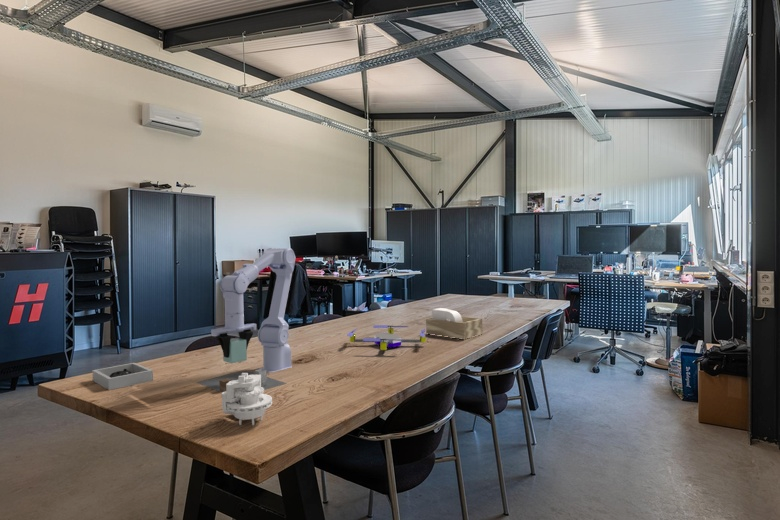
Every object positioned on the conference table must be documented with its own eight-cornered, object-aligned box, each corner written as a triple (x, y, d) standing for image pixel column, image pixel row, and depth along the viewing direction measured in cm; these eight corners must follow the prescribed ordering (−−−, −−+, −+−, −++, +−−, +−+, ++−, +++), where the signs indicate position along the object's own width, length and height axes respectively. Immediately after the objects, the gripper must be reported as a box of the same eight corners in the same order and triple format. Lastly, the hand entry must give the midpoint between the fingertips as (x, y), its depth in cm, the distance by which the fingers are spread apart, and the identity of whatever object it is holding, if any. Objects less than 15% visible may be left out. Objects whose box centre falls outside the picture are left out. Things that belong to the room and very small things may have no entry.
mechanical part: (253, 432, 106) (252, 382, 105) (213, 425, 110) (212, 378, 110) (281, 415, 116) (281, 370, 116) (244, 410, 120) (243, 366, 120)
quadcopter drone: (357, 334, 217) (357, 324, 216) (426, 335, 213) (426, 325, 213) (342, 350, 183) (342, 338, 183) (424, 352, 180) (424, 339, 179)
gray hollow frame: (135, 372, 159) (134, 362, 159) (153, 380, 149) (152, 370, 149) (92, 380, 149) (92, 370, 149) (109, 390, 139) (108, 379, 139)
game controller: (108, 376, 152) (122, 362, 154) (121, 386, 154) (135, 372, 155) (103, 384, 143) (118, 369, 145) (117, 394, 145) (131, 379, 146)
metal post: (262, 384, 141) (261, 368, 141) (266, 385, 140) (266, 370, 140) (254, 386, 140) (254, 370, 139) (259, 387, 138) (259, 371, 138)
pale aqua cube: (238, 357, 146) (237, 337, 146) (246, 360, 143) (246, 339, 143) (223, 360, 143) (222, 340, 142) (231, 363, 139) (231, 342, 139)
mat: (246, 372, 158) (246, 370, 158) (287, 385, 142) (287, 383, 142) (196, 384, 145) (196, 382, 145) (235, 399, 129) (235, 397, 129)
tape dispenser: (432, 334, 226) (432, 309, 225) (446, 331, 232) (446, 307, 232) (455, 338, 213) (455, 312, 213) (470, 336, 220) (470, 310, 219)
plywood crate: (445, 329, 236) (445, 314, 236) (482, 334, 222) (482, 318, 221) (426, 334, 223) (426, 318, 223) (464, 340, 209) (464, 323, 209)
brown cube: (227, 388, 138) (227, 378, 138) (231, 389, 136) (231, 380, 136) (219, 390, 136) (219, 380, 136) (223, 391, 134) (223, 382, 134)
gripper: (218, 316, 134) (219, 361, 135) (261, 311, 145) (262, 353, 145) (207, 314, 139) (208, 358, 139) (249, 309, 150) (250, 349, 150)
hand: (235, 355), depth 143 cm, fingers closed on pale aqua cube, 5 cm apart
